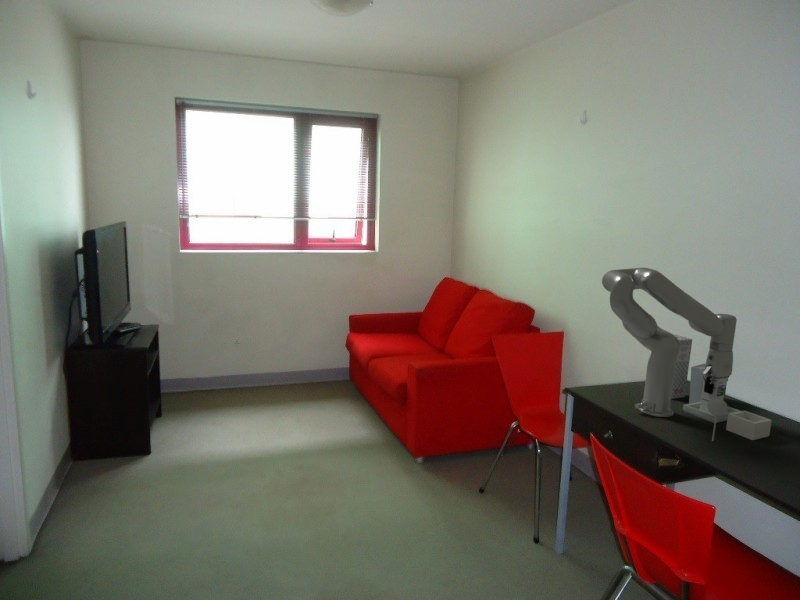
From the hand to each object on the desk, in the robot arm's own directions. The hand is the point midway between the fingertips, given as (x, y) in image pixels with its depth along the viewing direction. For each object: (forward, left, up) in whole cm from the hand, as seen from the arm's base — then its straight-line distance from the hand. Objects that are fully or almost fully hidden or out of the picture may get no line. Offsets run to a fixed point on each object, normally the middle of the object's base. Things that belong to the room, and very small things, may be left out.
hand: (714, 391), depth 211 cm
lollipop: (-24, -17, -9) cm, 31 cm away
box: (+4, +22, -9) cm, 24 cm away
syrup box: (0, 0, -9) cm, 9 cm away
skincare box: (+12, +10, -10) cm, 18 cm away
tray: (0, 0, -9) cm, 9 cm away
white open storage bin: (-5, -17, -9) cm, 20 cm away
